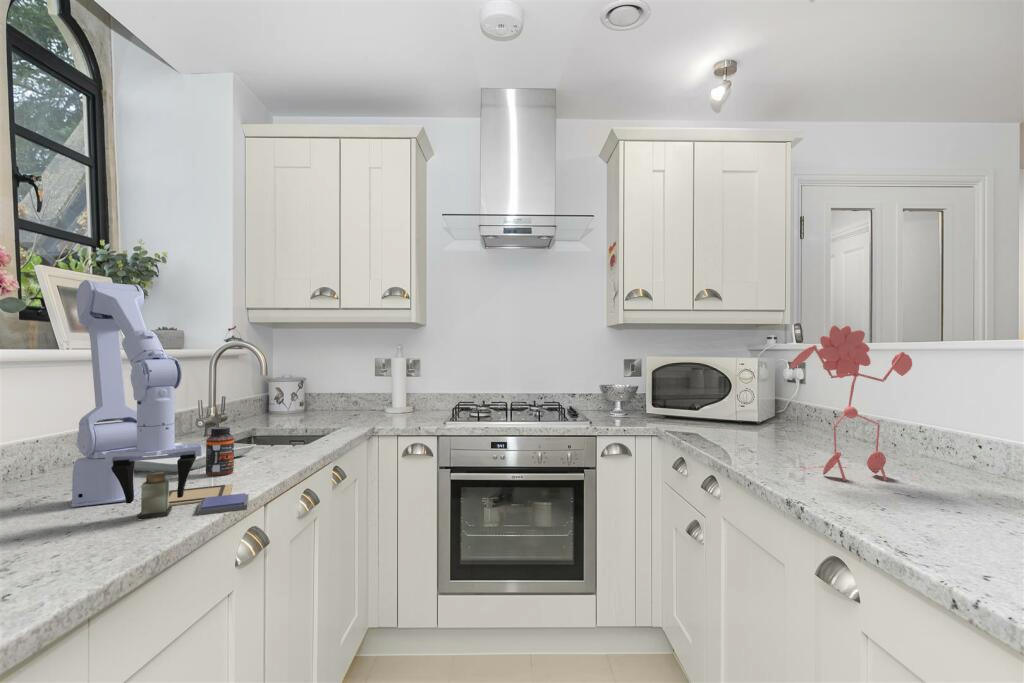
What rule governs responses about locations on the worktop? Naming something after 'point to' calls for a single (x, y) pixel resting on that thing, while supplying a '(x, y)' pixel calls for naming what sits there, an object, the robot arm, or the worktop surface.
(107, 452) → the robot arm
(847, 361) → the figurine
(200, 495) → the sheet
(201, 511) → the ink pad
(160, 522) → the worktop surface
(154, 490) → the stamp
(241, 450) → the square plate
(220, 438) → the supplement bottle
